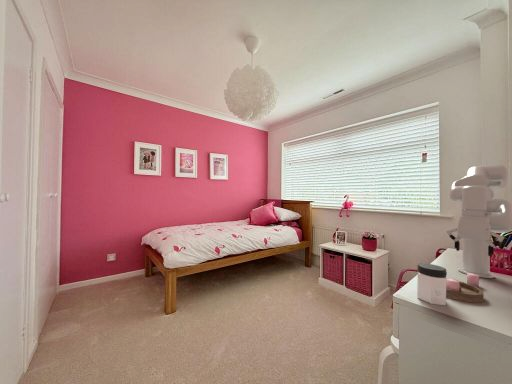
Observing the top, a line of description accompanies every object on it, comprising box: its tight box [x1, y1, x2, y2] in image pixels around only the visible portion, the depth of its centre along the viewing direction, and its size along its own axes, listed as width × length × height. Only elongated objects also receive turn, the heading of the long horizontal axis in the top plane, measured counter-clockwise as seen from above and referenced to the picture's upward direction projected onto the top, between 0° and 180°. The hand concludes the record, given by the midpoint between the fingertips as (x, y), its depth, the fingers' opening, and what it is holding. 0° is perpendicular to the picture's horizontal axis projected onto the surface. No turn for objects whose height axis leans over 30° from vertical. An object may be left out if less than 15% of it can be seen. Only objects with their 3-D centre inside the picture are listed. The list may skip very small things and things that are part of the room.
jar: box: [416, 262, 448, 306], centre depth 76 cm, size 9×8×12 cm
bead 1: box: [446, 278, 459, 292], centre depth 80 cm, size 4×4×4 cm
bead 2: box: [466, 273, 480, 288], centre depth 91 cm, size 4×4×4 cm
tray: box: [446, 280, 485, 304], centre depth 83 cm, size 16×16×3 cm
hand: (473, 252), depth 91 cm, fingers open, 9 cm apart
